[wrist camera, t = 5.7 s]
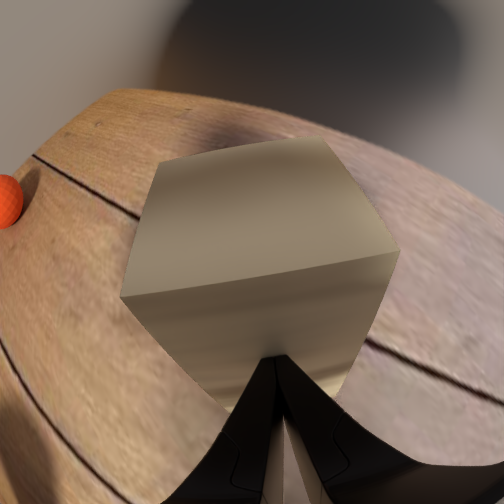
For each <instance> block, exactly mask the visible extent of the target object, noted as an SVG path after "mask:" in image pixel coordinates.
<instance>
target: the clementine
mask: <svg viewBox="0 0 504 504" xmlns="http://www.w3.org/2000/svg"><path fill="white" fill-rule="evenodd" d="M22 206H23V192H22V189H21V187H20V185H19V183H18V182H17V180H15V179H14V178H13V177H11V176H8V175H0V229H5V228H7V227H9V226H11V225H12V224H13V223H14V222H15V221H16V220H17V219H18V217H19V215H20V213H21V211H22Z"/></svg>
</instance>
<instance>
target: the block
mask: <svg viewBox="0 0 504 504" xmlns="http://www.w3.org/2000/svg"><path fill="white" fill-rule="evenodd" d="M399 253H400V249H399V247H398V245H397V244H396V242H395V240H394V239H393V237H392V235H391V234H390V232H389V231H388V229H387V227H386V226H385V224H384V223H383V221H382V219H381V218H380V216H379V215H378V213H377V212H376V210H375V209H374V207H373V206H372V204H371V203H370V201H369V200H368V198H367V197H366V195H365V194H364V193H363V191H362V190H361V188H360V187H359V185H358V184H357V183H356V181H355V180H354V179H353V177H352V176H351V174H350V173H349V172H348V170H347V169H346V168H345V166H344V165H343V164H342V162H341V161H340V160H339V158H338V157H337V156H336V155H335V153H334V152H333V151H332V150H331V148H330V147H329V146H328V144H327V143H326V142H325V141H324V140H323V138H322V137H321V136H320V135H317V136H307V137H298V138H289V139H281V140H274V141H267V142H260V143H254V144H247V145H241V146H236V147H230V148H225V149H219V150H214V151H209V152H204V153H200V154H195V155H190V156H186V157H182V158H177V159H173V160H169V161H165V162H161V163H159V165H158V168H157V171H156V173H155V176H154V179H153V182H152V185H151V187H150V190H149V193H148V196H147V199H146V202H145V205H144V208H143V212H142V215H141V218H140V221H139V224H138V228H137V231H136V235H135V238H134V242H133V245H132V249H131V253H130V256H129V260H128V264H127V268H126V272H125V276H124V280H123V285H122V289H121V294H120V298H121V300H122V301H123V302H124V303H125V305H126V306H127V307H128V308H129V309H130V311H131V312H132V313H133V314H134V316H135V317H136V318H137V319H138V320H139V322H140V323H141V324H142V325H143V326H144V327H145V329H146V330H147V331H148V332H149V333H150V334H151V335H152V337H153V338H154V339H155V340H156V341H157V342H158V343H159V344H160V345H161V346H162V348H163V349H164V350H165V351H166V352H167V353H168V354H169V355H170V356H171V357H172V358H173V359H174V360H175V361H176V362H177V363H178V365H179V366H180V367H181V368H182V369H183V370H184V371H185V372H186V373H187V374H188V375H189V376H190V377H191V378H192V379H193V380H194V381H195V382H197V383H198V384H199V385H200V386H201V387H202V388H203V389H204V390H205V391H206V392H207V393H208V394H209V395H210V396H211V397H212V398H213V399H215V400H216V401H217V402H218V403H219V404H220V405H221V406H222V407H223V408H225V409H226V410H227V411H228V412H229V413H230V414H231V412H232V411H233V409H234V407H235V405H236V403H237V402H238V400H239V398H240V396H241V394H242V393H243V391H244V389H245V387H246V385H247V383H248V382H249V380H250V378H251V376H252V374H253V372H254V370H255V368H256V367H257V365H258V363H259V361H260V359H261V358H266V357H273V358H274V357H275V356H278V355H284V354H286V355H288V356H289V357H290V358H291V359H292V360H293V361H294V362H295V363H296V364H297V365H298V366H299V367H300V368H301V369H302V370H303V371H304V372H305V373H306V374H307V375H308V376H309V377H310V378H311V379H312V380H313V381H314V382H315V383H316V384H317V385H318V386H319V387H320V388H321V389H322V390H323V391H324V392H326V393H327V394H328V395H329V396H330V397H331V398H332V397H335V396H336V394H337V393H338V391H339V389H340V387H341V385H342V384H343V382H344V380H345V378H346V376H347V374H348V372H349V370H350V369H351V367H352V365H353V363H354V361H355V359H356V357H357V355H358V353H359V351H360V349H361V347H362V345H363V342H364V340H365V338H366V336H367V334H368V332H369V330H370V327H371V325H372V323H373V321H374V318H375V316H376V314H377V311H378V309H379V306H380V304H381V302H382V299H383V297H384V294H385V292H386V289H387V286H388V284H389V281H390V279H391V276H392V273H393V270H394V268H395V265H396V262H397V259H398V256H399Z"/></svg>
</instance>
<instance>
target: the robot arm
mask: <svg viewBox="0 0 504 504" xmlns="http://www.w3.org/2000/svg"><path fill="white" fill-rule="evenodd" d="M282 411H283V412H282ZM283 417H284V421H285V425H286V428H287V431H288V434H289V438H290V441H291V444H292V447H293V450H294V453H295V457H296V460H297V463H298V466H299V469H300V472H301V475H302V479H303V482H304V485H305V488H306V491H307V494H308V497H309V500H310V503H311V504H504V461H503V462H500V463H497V464H493V465H487V466H446V465H431V464H425V463H422V462H419V461H416V460H414V459H412V458H410V457H408V456H406V455H405V454H403V453H402V452H400V451H398V450H397V449H395V448H393V447H392V446H390V445H389V444H387V443H386V442H384V441H382V440H381V439H379V438H378V437H376V436H375V435H374V434H372V433H371V432H369V431H368V430H367V429H365V428H364V427H363V426H361V425H360V424H359V423H358V422H357V421H356V420H354V419H353V418H352V417H351V416H350V415H349V414H348V413H347V412H345V411H344V410H343V409H342V408H341V407H340V406H339V405H338V404H337V403H336V402H335V401H334V400H333V399H332V398H331V397H330V396H329V395H328V394H327V393H326V392H324V391H323V390H322V389H321V388H320V387H319V386H318V385H317V384H316V383H315V382H314V381H313V380H312V379H311V378H310V377H309V376H308V375H307V374H306V373H305V372H304V371H303V370H302V369H301V368H300V367H299V366H298V365H297V364H296V363H295V362H294V361H293V360H292V359H291V358H290V357H289V356H288V355H286V354H284V355H278V356H275V357H274V358H273V357H266V358H261V359H260V361H259V363H258V365H257V367H256V368H255V370H254V372H253V374H252V376H251V378H250V380H249V382H248V383H247V385H246V387H245V389H244V391H243V393H242V394H241V396H240V398H239V400H238V402H237V403H236V405H235V407H234V409H233V411H232V412H231V414H230V416H229V418H228V419H227V421H226V423H225V425H224V426H223V428H222V430H221V431H222V432H220V433H219V435H218V436H217V438H216V440H215V441H214V443H213V444H212V446H211V447H210V449H209V451H208V452H207V453H206V455H205V456H204V457H203V459H202V460H201V461H200V462H199V464H198V465H197V466H196V467H195V469H194V470H193V471H192V472H191V473H190V474H189V476H188V477H187V478H186V479H185V480H184V481H183V482H182V484H181V485H180V486H179V487H178V488H177V489H176V490H175V491H174V492H173V493H172V494H171V496H169V497H168V498H167V499H166V500H165V501H163V502H162V503H160V504H283V459H284V422H283Z"/></svg>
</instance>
